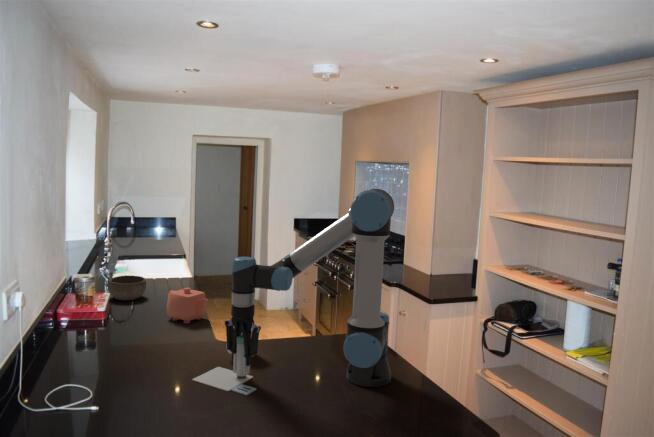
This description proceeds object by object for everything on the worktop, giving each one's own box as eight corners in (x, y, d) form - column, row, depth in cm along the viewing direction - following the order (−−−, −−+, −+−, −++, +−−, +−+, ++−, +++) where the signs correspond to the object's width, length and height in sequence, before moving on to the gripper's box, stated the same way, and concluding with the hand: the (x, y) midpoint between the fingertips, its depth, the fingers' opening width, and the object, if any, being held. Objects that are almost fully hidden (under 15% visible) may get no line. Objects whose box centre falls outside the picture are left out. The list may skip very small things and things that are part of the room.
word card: (256, 389, 167) (256, 388, 167) (246, 395, 163) (246, 394, 163) (241, 385, 170) (241, 383, 170) (231, 390, 166) (231, 389, 166)
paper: (253, 377, 176) (253, 376, 176) (228, 391, 165) (228, 390, 165) (218, 367, 184) (218, 366, 184) (191, 380, 172) (191, 379, 172)
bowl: (138, 303, 257) (138, 283, 255) (102, 302, 257) (102, 282, 256) (151, 294, 274) (151, 275, 273) (116, 293, 274) (116, 274, 273)
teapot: (216, 320, 236) (216, 289, 234) (196, 327, 225) (196, 295, 223) (179, 311, 246) (180, 282, 245) (158, 318, 235) (159, 287, 234)
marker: (249, 376, 176) (250, 335, 175) (242, 380, 173) (243, 339, 172) (240, 373, 178) (241, 333, 177) (233, 377, 175) (234, 336, 173)
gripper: (270, 305, 172) (268, 374, 175) (230, 297, 180) (229, 364, 183) (256, 311, 166) (254, 382, 168) (216, 302, 174) (214, 371, 176)
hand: (241, 372), depth 175 cm, fingers closed on marker, 3 cm apart
